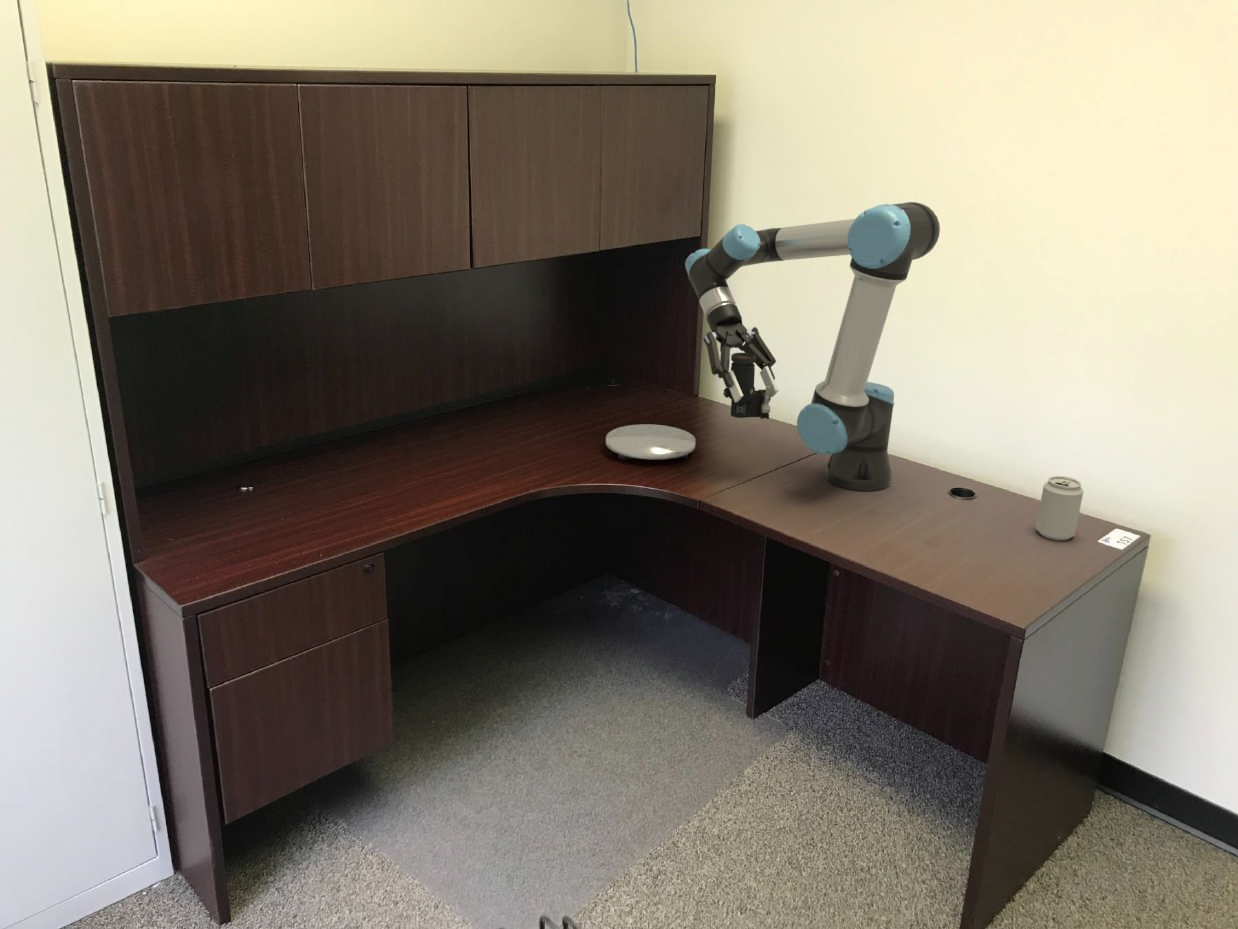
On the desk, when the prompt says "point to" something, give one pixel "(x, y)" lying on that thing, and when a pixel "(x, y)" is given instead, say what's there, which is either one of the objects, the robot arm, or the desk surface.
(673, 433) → the base
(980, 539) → the desk surface
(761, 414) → the scope
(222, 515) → the desk surface
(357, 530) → the desk surface
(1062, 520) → the can
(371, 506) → the desk surface
